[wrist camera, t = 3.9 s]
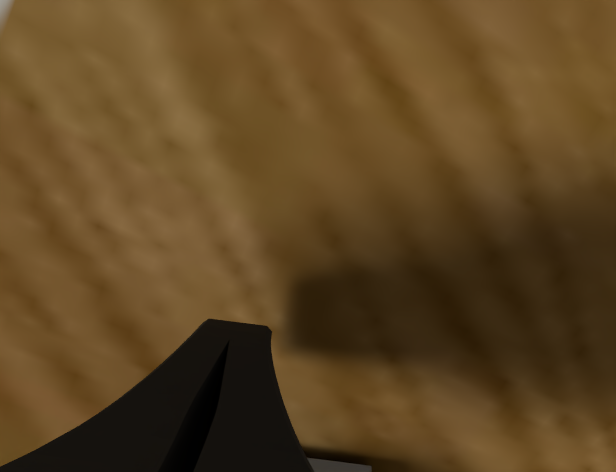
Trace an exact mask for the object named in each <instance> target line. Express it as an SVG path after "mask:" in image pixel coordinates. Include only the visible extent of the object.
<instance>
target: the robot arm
mask: <svg viewBox="0 0 616 472" xmlns="http://www.w3.org/2000/svg"><path fill="white" fill-rule="evenodd" d="M271 335H272V331H271V330H270V329H269V328H268V327H267V326H263V325H255V324H247V323H239V322H231V321H223V320H215V319H208V320H206V321H205V322H203V323H202V324H201V325H200V326H199V328H198V329H197V330H196V331H195V332H194V333H193V334H192V335H191V336H190V337H189V338H188V339H187V340H186V341H185V342H184V343H183V344H182V345H181V346H180V347H179V348H178V349H177V350H176V351H175V352H174V353H173V354H171V355H170V356H169V357H168V358H167V359H166V360H165V361H164V362H163V363H162V364H160V365H159V366H158V367H157V368H156V369H155V370H154V371H153V372H151V373H150V374H149V375H148V376H147V377H146V378H144V379H143V380H142V381H141V382H139V383H138V384H137V385H136V386H134V387H133V388H132V389H131V390H129V391H128V392H127V393H126V394H124V395H123V396H122V397H120V398H119V399H118V400H116V401H115V402H114V403H112V404H111V405H109V406H108V407H107V408H105V409H104V410H102V411H101V412H99V413H98V414H96V415H95V416H93V417H92V418H90V419H89V420H87V421H86V422H84V423H83V424H81V425H80V426H78V427H76V428H74V429H73V430H71V431H69V432H67V433H65V434H63V435H62V436H60V437H58V438H56V439H54V440H53V441H51V442H49V443H47V444H45V445H44V446H42V447H40V448H38V449H36V450H34V451H32V452H30V453H28V454H26V455H24V456H22V457H20V458H18V459H16V460H14V461H12V462H9V463H7V464H5V465H3V466H1V467H0V472H314V470H313V468H312V466H311V465H310V463H309V461H308V459H307V457H306V455H305V453H304V451H303V449H302V447H301V445H300V443H299V441H298V438H297V436H296V434H295V432H294V429H293V427H292V424H291V422H290V419H289V416H288V414H287V411H286V408H285V406H284V403H283V399H282V396H281V393H280V389H279V386H278V382H277V378H276V375H275V370H274V366H273V360H272V353H271Z"/></svg>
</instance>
